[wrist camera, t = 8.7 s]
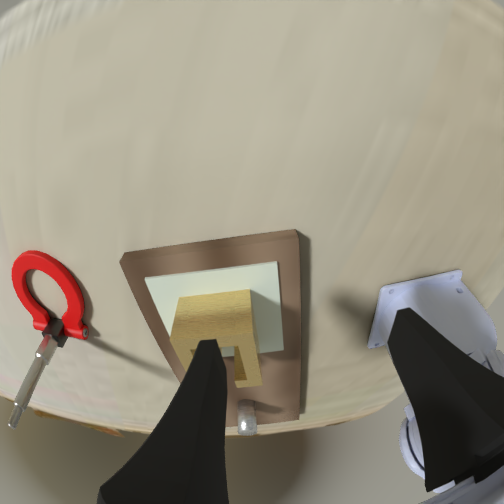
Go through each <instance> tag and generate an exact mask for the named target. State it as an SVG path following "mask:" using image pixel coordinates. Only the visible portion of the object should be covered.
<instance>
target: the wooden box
mask: <svg viewBox="0 0 504 504" xmlns="http://www.w3.org/2000/svg"><path fill="white" fill-rule="evenodd" d="M210 339H217V342H218V346H219V349H220V352H221V354H222V347H229V346H234V373H235V384H236V387H237V388H242V387H252V386H262V385H263V381H262V370H261V358H260V347H259V340H258V334H257V329H256V323H255V317H254V311H253V305H252V299H251V293H250V289H246V290H238V291H230V292H221V293H213V294H204V295H194V296H185V297H179V299H178V303H177V308H176V312H175V317H174V321H173V326H172V330H171V335H170V342H171V344H172V346H173V348H174V350H175V352H176V354H177V356H178V358H179V360H180V362H181V364H182V366H183V367H184V369H185V371H186V372H187V370H188V367H189V365H190V363H191V361H192V358H193V356H194V353H195V351H196V348H197V345H198V343H199V341H200V340H210Z"/></svg>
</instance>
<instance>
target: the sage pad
mask: <svg viewBox="0 0 504 504" xmlns="http://www.w3.org/2000/svg"><path fill="white" fill-rule="evenodd" d="M145 282H146V284H147V287H148V289H149V291H150V294H151V296H152V299H153V301H154V303H155V305H156V308H157V310H158V312H159V315H160V317H161V319H162V321H163V323H164V325H165V328H166V330H167V332H168V334H169V336H170V335H171V330H172V326H173V321H174V317H175V312H176V308H177V303H178V299H179V297H185V296H194V295H204V294H213V293H221V292H230V291H238V290H246V289H250V293H251V299H252V305H253V311H254V317H255V323H256V329H257V334H258V340H259V347H260V353H266V352H274V351H281V350H284V346H283V331H282V318H281V305H280V292H279V280H278V268H277V261H274V262H267V263H259V264H251V265H243V266H236V267H228V268H220V269H212V270H203V271H195V272H187V273H179V274H170V275H162V276H153V277H145ZM227 356H234V346H229V347H222V357H227Z"/></svg>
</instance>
